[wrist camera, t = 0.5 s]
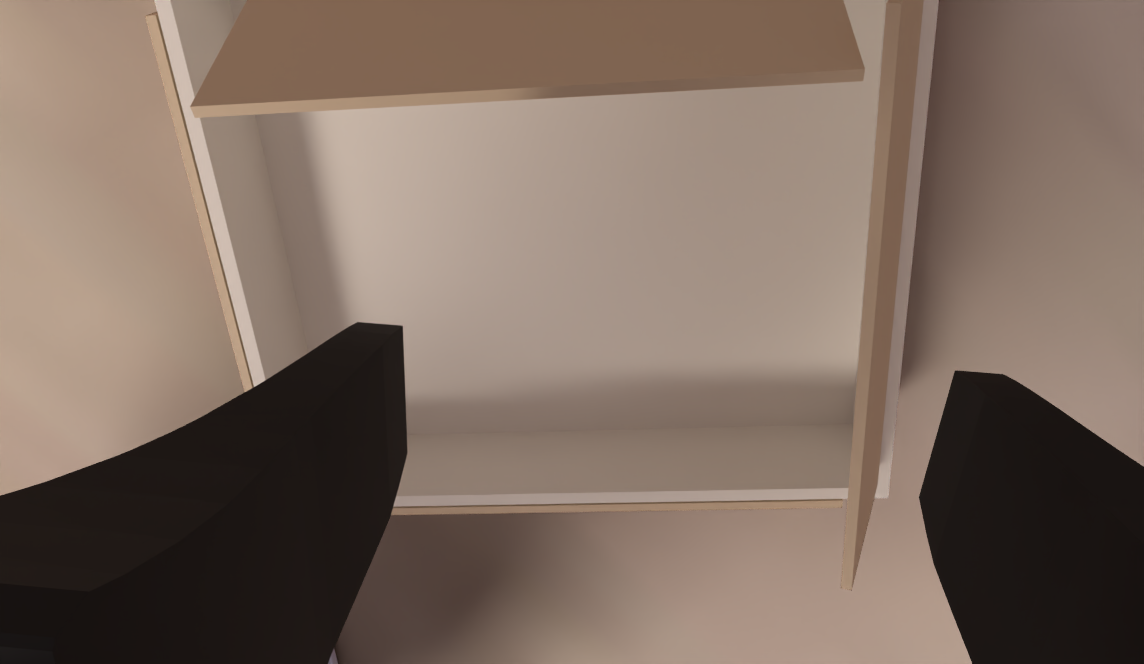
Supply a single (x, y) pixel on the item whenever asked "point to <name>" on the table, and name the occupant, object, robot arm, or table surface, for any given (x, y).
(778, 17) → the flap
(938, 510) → the robot arm
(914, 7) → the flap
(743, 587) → the table surface
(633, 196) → the carton
